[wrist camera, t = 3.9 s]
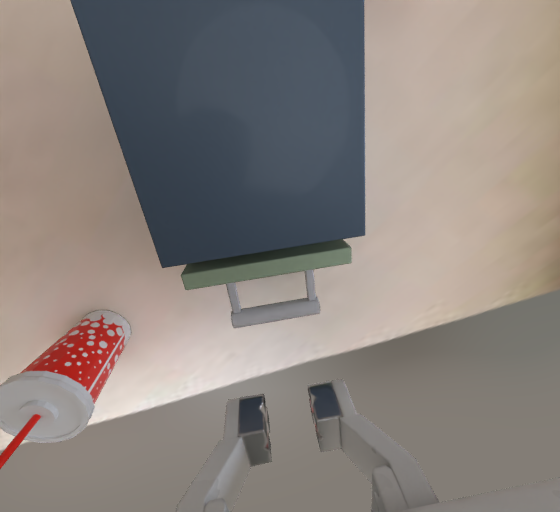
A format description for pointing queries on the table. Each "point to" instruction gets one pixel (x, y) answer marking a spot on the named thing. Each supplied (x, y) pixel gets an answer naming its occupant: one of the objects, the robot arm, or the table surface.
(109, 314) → the beverage cup
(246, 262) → the drawer
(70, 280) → the table surface
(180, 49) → the cabinet
